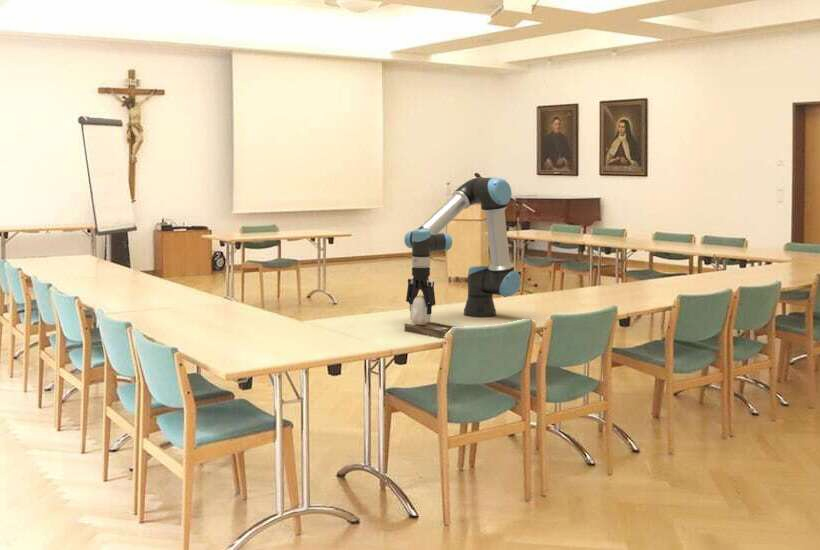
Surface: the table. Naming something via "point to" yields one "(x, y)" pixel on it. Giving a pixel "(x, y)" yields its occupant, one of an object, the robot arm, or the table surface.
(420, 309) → the figurine
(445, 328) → the flange rail
